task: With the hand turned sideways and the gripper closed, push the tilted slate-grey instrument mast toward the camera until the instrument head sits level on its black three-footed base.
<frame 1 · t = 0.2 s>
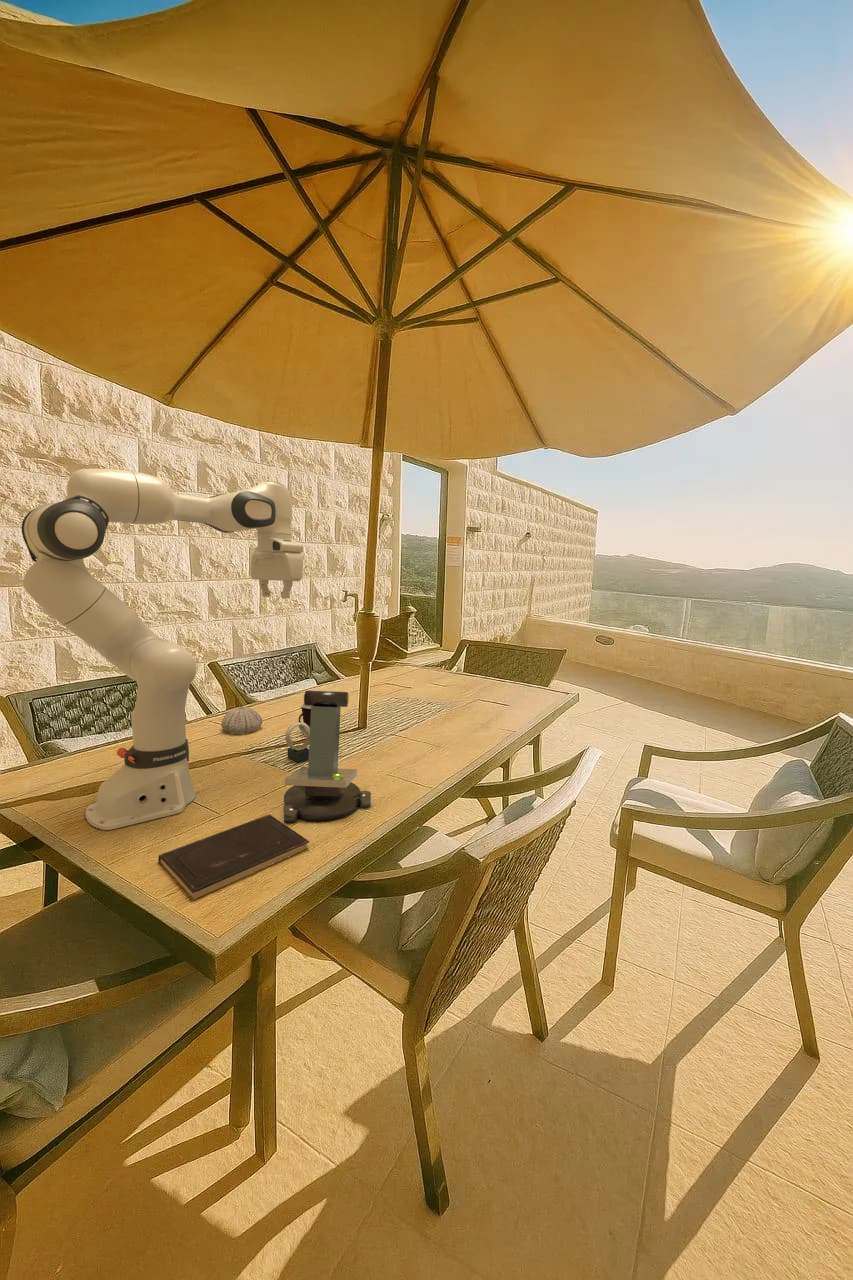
hand: (275, 597, 137), 48 cm above the table, tool pointing down, fingers open, 8 cm apart
sea urchin shell: (242, 730, 174), on the table
instrument head: (324, 735, 122), point 16 cm above the table, hinge at -12.0°
hardcover book: (236, 858, 99), on the table
coffee mug: (310, 735, 171), on the table
tribrach base: (322, 803, 122), on the table
watch: (299, 759, 149), on the table
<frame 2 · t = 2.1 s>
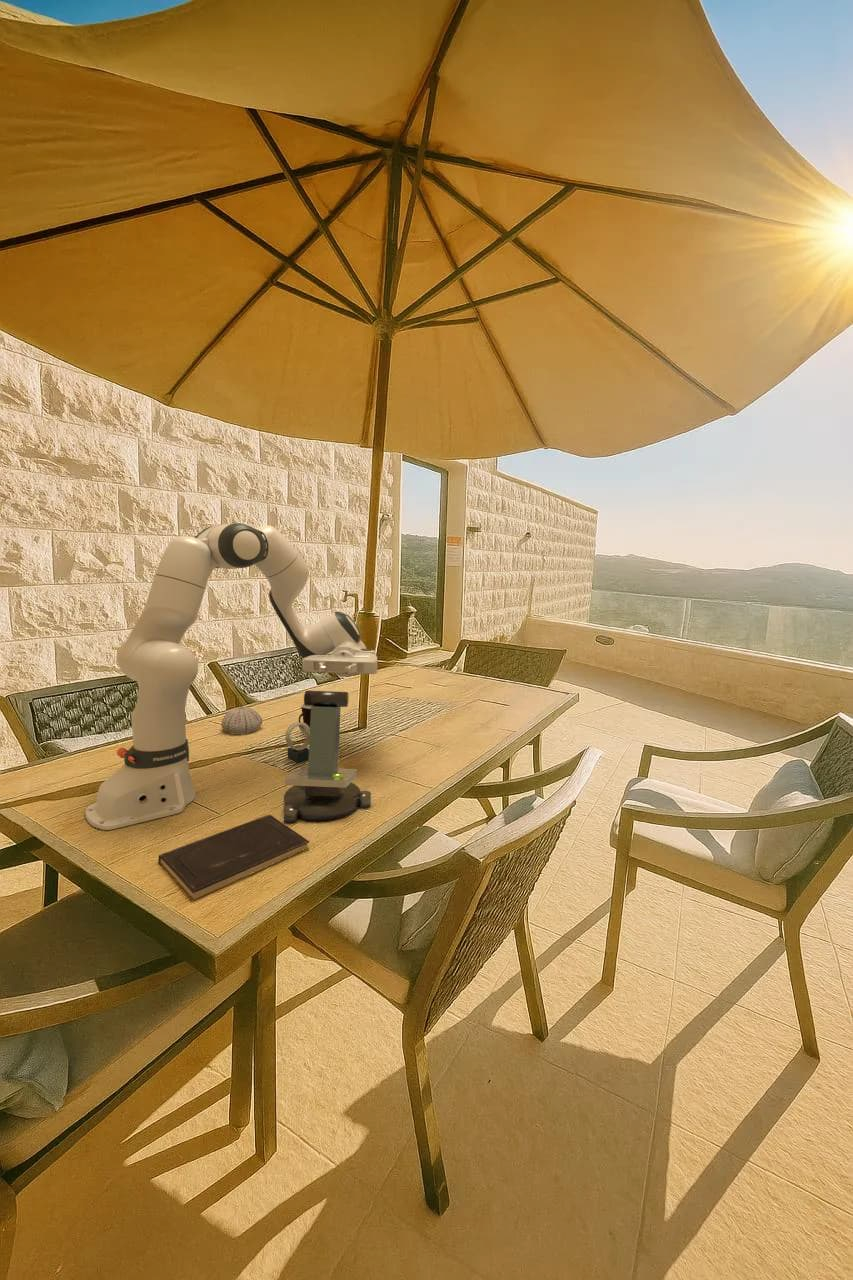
hand: (334, 670, 130), 30 cm above the table, tool horizontal, fingers open, 5 cm apart
nothing on the table moved.
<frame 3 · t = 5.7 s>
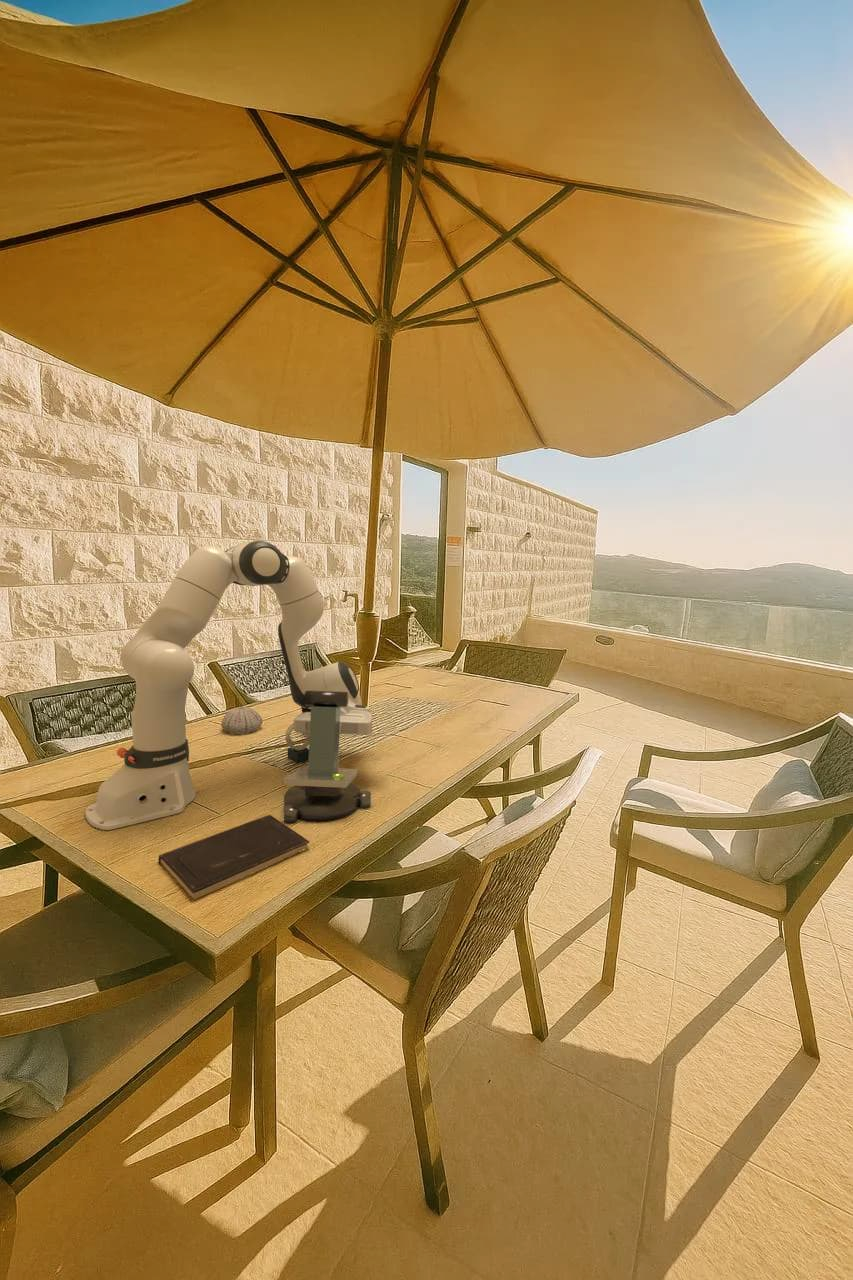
hand: (327, 733, 124), 16 cm above the table, tool horizontal, fingers closed, pressing on instrument head
instrument head: (324, 735, 121), point 16 cm above the table, hinge at -11.9°, touching gripper
everything else where it was.
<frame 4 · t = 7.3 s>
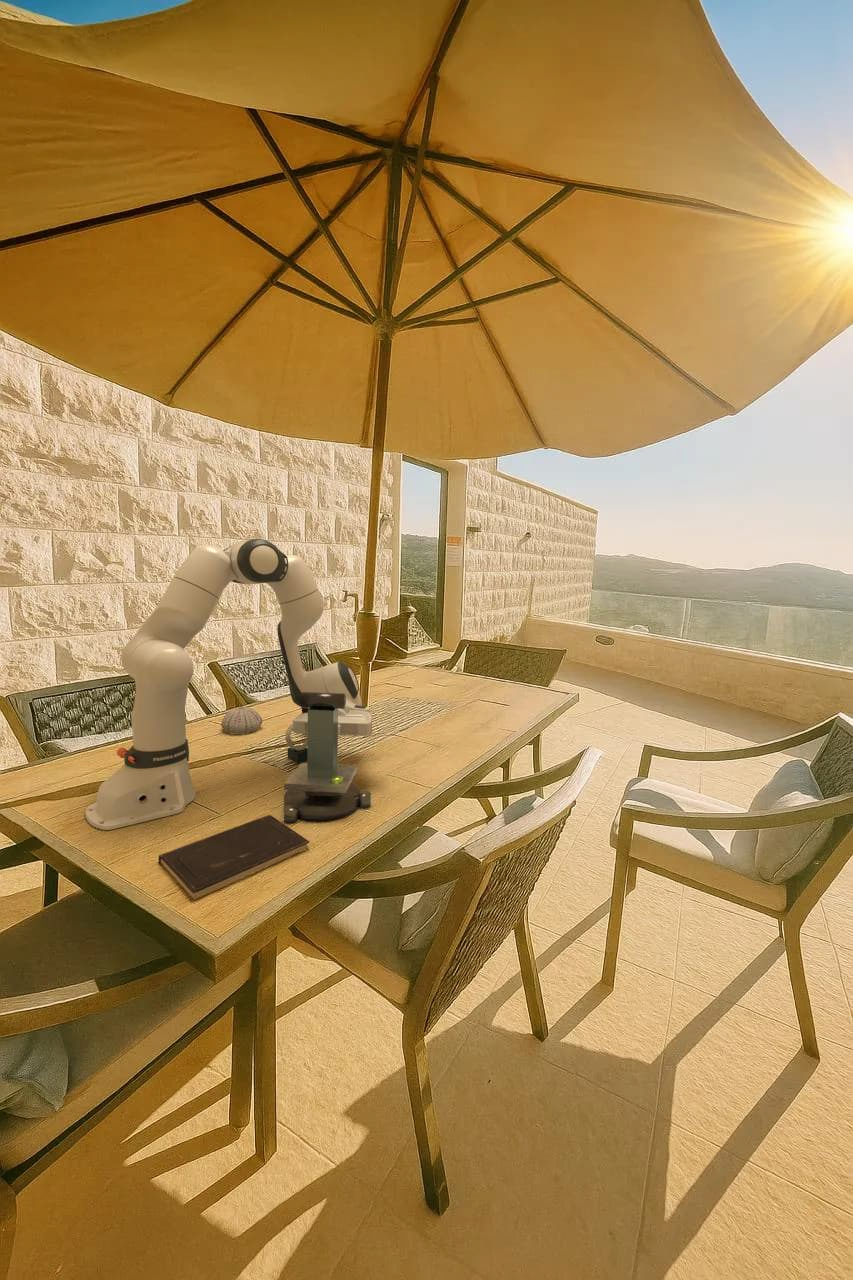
hand: (326, 734, 123), 16 cm above the table, tool horizontal, fingers closed
instrument head: (323, 736, 120), point 17 cm above the table, hinge at -2.7°
everything else where it was.
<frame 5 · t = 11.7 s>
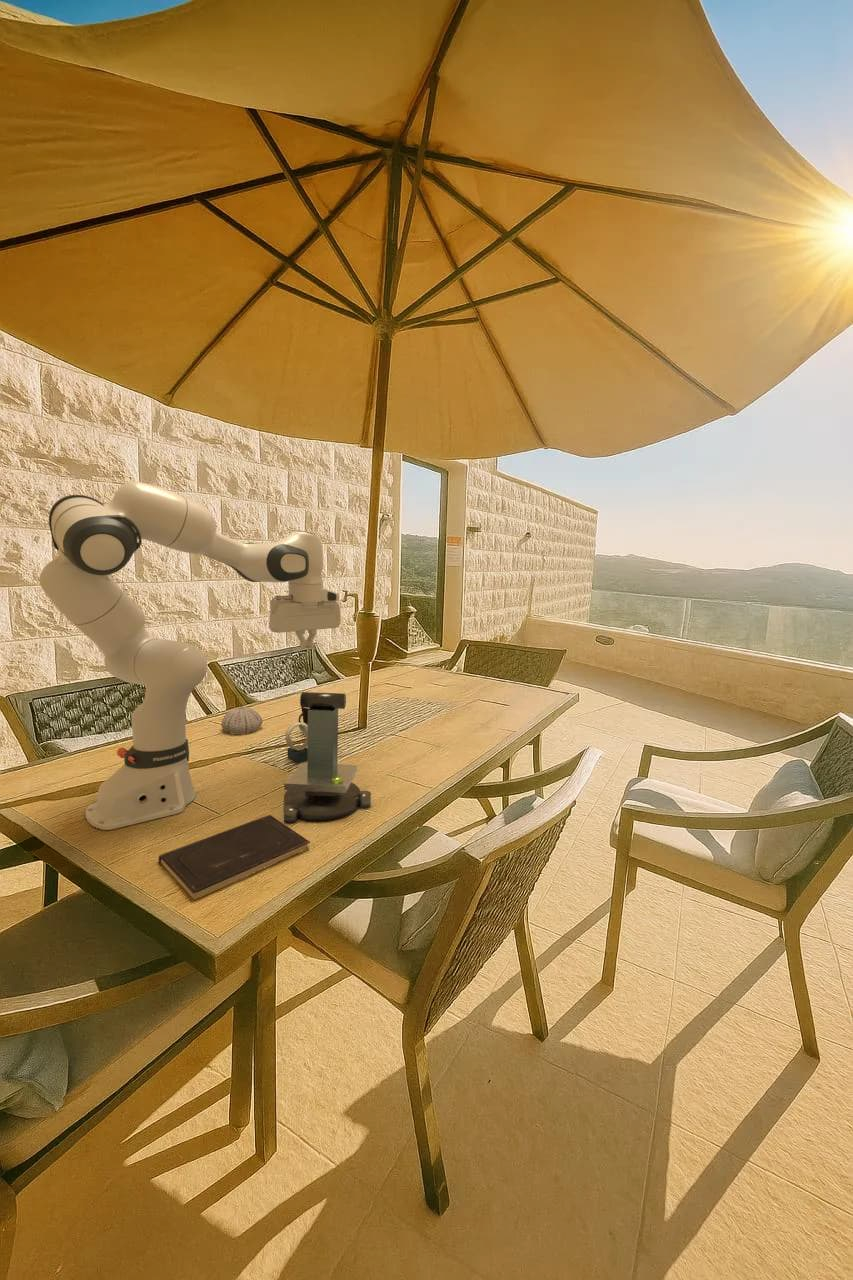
hand: (306, 646, 134), 35 cm above the table, tool pointing down, fingers closed
nothing on the table moved.
at the end: instrument head at -3° (first picture: -12°) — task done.
